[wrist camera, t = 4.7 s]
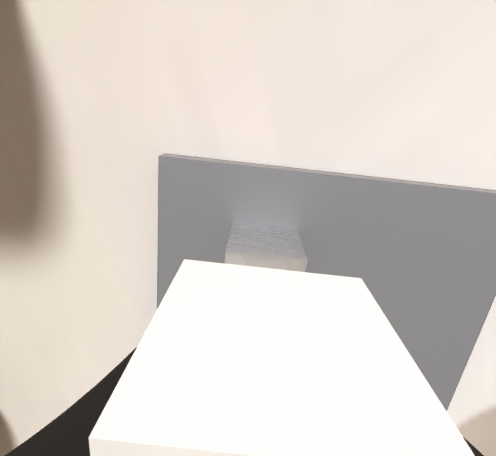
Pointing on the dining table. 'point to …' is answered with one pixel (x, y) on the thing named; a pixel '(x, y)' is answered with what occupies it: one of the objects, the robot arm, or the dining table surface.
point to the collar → (272, 374)
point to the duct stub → (265, 247)
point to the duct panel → (350, 243)
